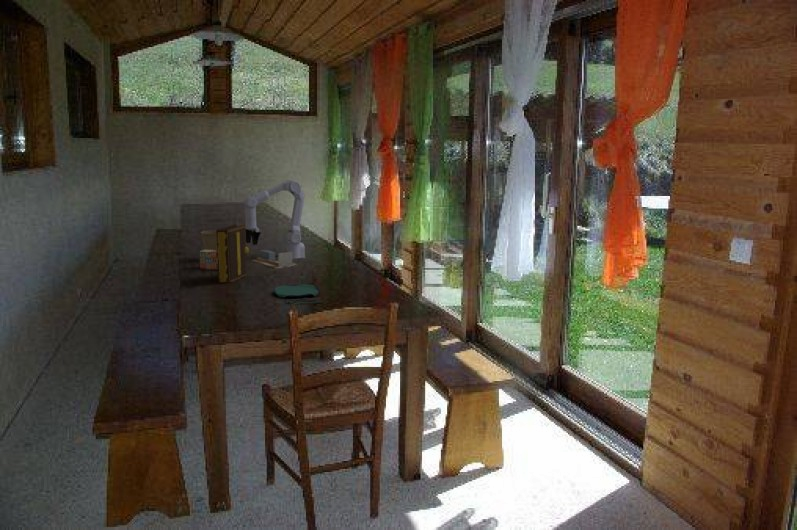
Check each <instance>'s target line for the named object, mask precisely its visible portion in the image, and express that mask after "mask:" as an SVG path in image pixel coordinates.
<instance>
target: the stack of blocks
mask: <svg viewBox="0 0 797 530" xmlns="http://www.w3.org/2000/svg"><path fill="white" fill-rule="evenodd" d="M198 254H199V256H198V257H199V269H200V270H218V256H217V246H216V250H205V249H202V250H200V251H199V252H198Z"/></svg>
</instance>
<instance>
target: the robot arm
mask: <svg viewBox="0 0 797 530" xmlns="http://www.w3.org/2000/svg"><path fill="white" fill-rule="evenodd" d="M302 187H303V185H302V184H301V182H299V181H297V180H293V179H287V180H285V181H282V182H280V183H278V184H277V185H274V186H272V187H270V188H269V189H267V190H265V189H262V190H261V189H260V190H258V192H256V193H254V194H253V193H252V194H250V196H246V197H245V198H244V199H243V202H242V203H243V205H244V209H245V210H244V219H245V229H246V244H251V242H252V245H253V246H256V245H258V242H259V238H260V236H261V234H262V232H261V231H260V228H259V227H257V205H259V204H261V203H264V202H267V200H269V198H270V197H271V196H272V195H276V194H278V193H280V192H283V191H286V192H289V193H291V195H292V196H293V197H294V201H293V207H292V208H293V209H292V212H291V213H292V214H291V219H290V225H289V227H288V228H287V229H288V230H287V232H285V239H286V240H287V241H286V248H287V249H286V250H287V251H286V252H292V255H293V260H294V259H302V258H303V259H306V249H305V248H306V247H305V245H304V244H305V243H304V242H301V240H302V236H301V235H302V234H301V227H300V226H301V221H302V216H303V208H304V203H305V197H306V196H305V193H304V190H303V188H302Z"/></svg>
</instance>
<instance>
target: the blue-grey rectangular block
mask: <svg viewBox="0 0 797 530" xmlns="http://www.w3.org/2000/svg"><path fill="white" fill-rule="evenodd" d="M259 252H260V253H259V254H260V255H259V257H261V258H264V259H267V260H271V261H275V257H276V252H275V251H272V250H268V249H260V250H259Z"/></svg>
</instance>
